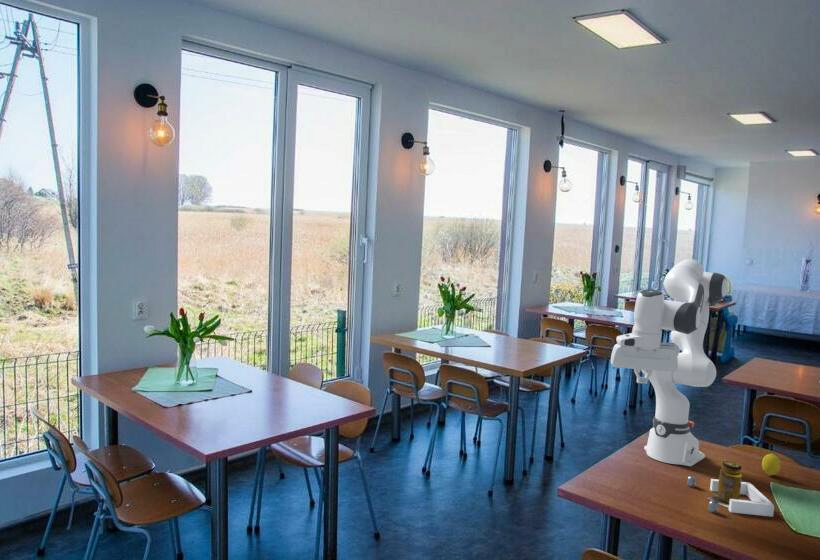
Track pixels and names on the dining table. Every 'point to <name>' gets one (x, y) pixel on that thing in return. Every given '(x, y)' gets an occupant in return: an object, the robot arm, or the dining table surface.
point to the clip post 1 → (691, 481)
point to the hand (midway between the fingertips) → (641, 382)
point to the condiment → (728, 483)
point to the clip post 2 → (713, 507)
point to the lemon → (771, 464)
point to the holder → (754, 507)
